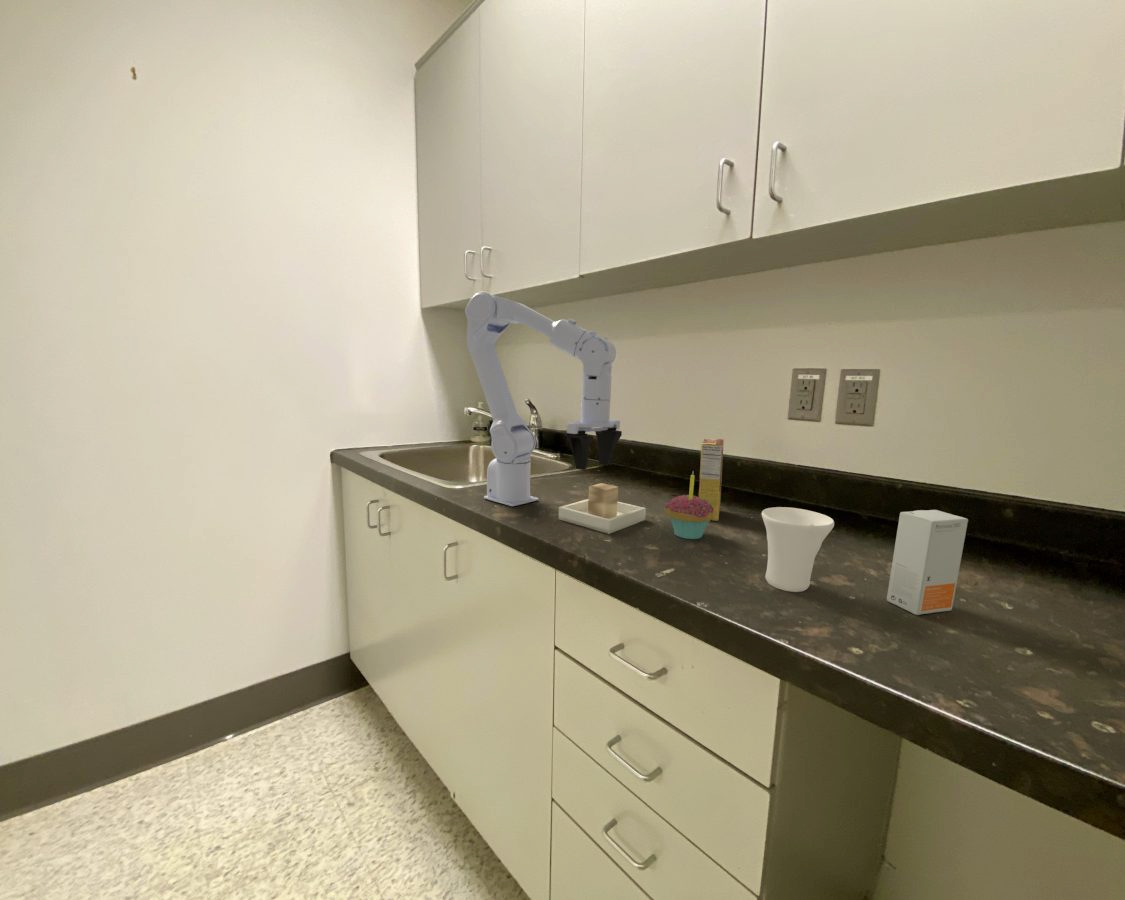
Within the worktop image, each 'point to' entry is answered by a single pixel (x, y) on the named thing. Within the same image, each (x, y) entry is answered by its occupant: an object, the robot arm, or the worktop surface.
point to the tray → (580, 516)
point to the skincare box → (926, 561)
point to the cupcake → (689, 514)
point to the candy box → (711, 473)
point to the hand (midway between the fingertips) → (592, 466)
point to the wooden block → (603, 500)
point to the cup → (793, 545)
